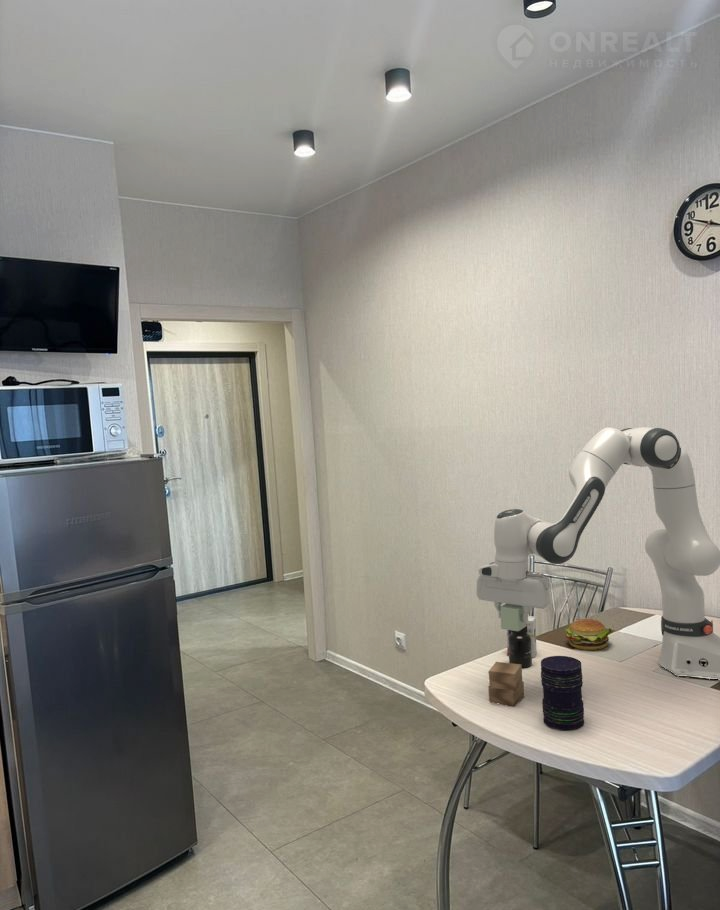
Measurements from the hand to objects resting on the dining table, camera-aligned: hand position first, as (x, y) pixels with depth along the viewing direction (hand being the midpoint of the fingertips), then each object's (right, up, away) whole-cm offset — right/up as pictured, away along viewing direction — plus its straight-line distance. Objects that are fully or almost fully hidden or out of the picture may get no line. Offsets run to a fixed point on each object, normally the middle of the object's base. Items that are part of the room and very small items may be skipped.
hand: (513, 619), depth 190 cm
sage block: (0, -2, 0) cm, 2 cm away
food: (+31, -16, +34) cm, 49 cm away
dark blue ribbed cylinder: (+9, -21, -18) cm, 29 cm away
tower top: (-3, -17, -3) cm, 17 cm away
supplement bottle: (+7, -19, +21) cm, 29 cm away
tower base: (-2, -21, -3) cm, 21 cm away
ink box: (+9, -18, +29) cm, 36 cm away
